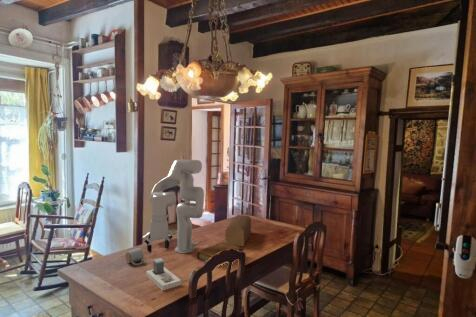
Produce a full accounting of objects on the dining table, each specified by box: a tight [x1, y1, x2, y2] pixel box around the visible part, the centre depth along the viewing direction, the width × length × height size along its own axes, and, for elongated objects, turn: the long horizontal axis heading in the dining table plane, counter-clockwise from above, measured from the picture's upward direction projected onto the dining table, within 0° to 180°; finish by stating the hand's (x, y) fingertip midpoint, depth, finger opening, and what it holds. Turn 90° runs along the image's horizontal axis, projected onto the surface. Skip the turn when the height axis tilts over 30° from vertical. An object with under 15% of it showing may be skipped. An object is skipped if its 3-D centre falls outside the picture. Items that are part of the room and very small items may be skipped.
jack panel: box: [145, 266, 182, 291], centre depth 158 cm, size 10×20×2 cm, turn 39°
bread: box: [224, 214, 252, 248], centre depth 227 cm, size 14×34×14 cm, turn 169°
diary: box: [196, 241, 245, 267], centre depth 190 cm, size 23×19×6 cm
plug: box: [152, 257, 165, 275], centre depth 162 cm, size 4×4×9 cm
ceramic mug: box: [125, 247, 144, 267], centre depth 179 cm, size 11×8×8 cm
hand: (158, 250), depth 161 cm, fingers open, 9 cm apart
